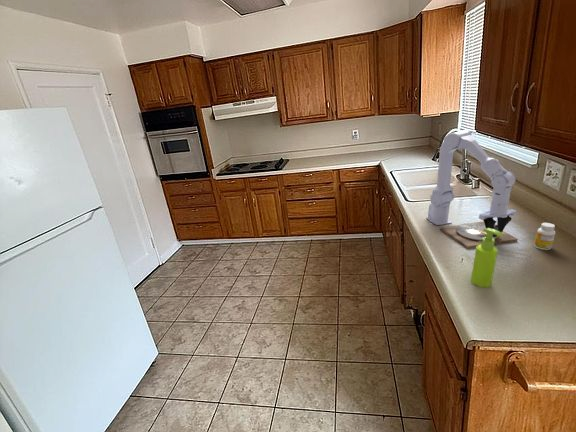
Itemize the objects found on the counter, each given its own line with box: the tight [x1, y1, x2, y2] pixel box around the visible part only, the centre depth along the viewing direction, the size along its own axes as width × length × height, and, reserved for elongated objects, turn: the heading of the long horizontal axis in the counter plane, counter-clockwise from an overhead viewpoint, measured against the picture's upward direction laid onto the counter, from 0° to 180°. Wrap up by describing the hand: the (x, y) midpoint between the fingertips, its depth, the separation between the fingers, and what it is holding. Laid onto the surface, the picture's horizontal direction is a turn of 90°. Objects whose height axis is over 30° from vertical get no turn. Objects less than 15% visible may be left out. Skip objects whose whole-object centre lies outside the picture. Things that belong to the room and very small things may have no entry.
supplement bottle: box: [533, 222, 556, 251], centre depth 117 cm, size 5×5×10 cm
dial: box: [456, 222, 499, 241], centre depth 131 cm, size 16×16×5 cm
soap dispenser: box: [470, 228, 505, 288], centre depth 99 cm, size 6×7×20 cm
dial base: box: [439, 220, 519, 250], centre depth 132 cm, size 19×22×2 cm
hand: (493, 232), depth 126 cm, fingers open, 4 cm apart
